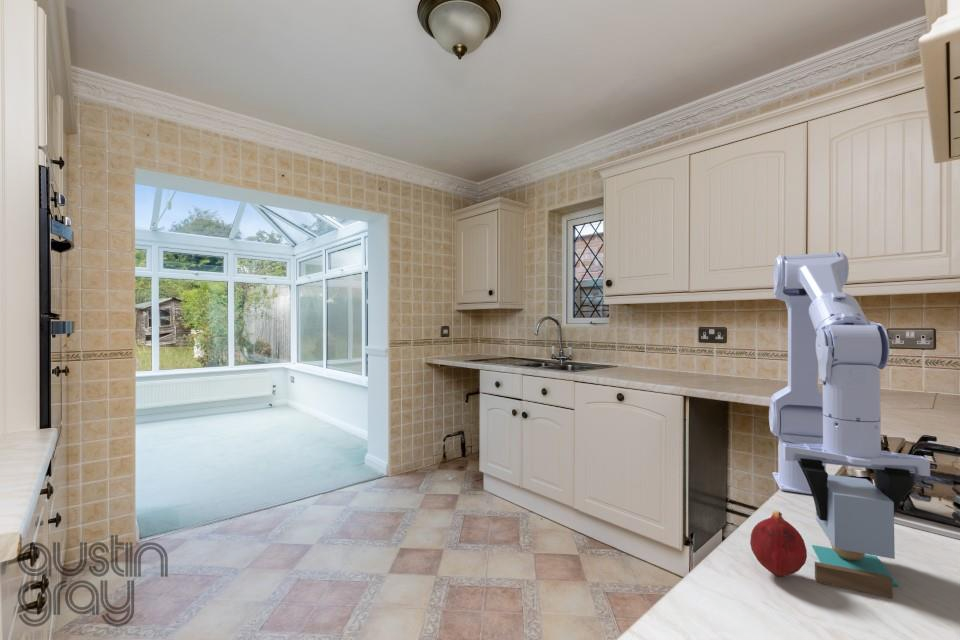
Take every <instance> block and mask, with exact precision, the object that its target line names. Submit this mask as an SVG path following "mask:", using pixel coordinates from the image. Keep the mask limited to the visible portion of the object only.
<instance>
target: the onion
mask: <svg viewBox="0 0 960 640" xmlns="http://www.w3.org/2000/svg"><path fill="white" fill-rule="evenodd" d="M782 515H783V514H782V512H780V511H779V510H777V509H776V510H774V511H772V513H771V516H770V517H768V518H765V519H763V520H761V521H759V522H758V523H757V524H755V525H754V527H753V529H752V531H751V533H750V541H749V543H750V548H751V551H752V553H753V555H754V557H755V558H756V560H757V561H758V563H760V565H761V566H762V567H763V568H764V569H766V570H767V571H768V572H770V573H771V574H772V575H773V576H775V577H777V578H783V577H785V576H790V575H794V574H796V573H798V572H799V571H800V570H801V569H802V567H803V566H804V565H805V564H806V561H807V558H808V555H807V554H808V553H807V552H808V551H807V546H806V544H805V543H806V542H805V541H804V539H803V537H802V535H801V534H800V533H799V531H798V530H797V529H796V527H794V526H793V525H792V524H791V523H790V522H788V521H787V520H785V518H783V516H782Z"/></svg>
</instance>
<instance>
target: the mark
mask: <svg viewBox="0 0 960 640" xmlns="http://www.w3.org/2000/svg"><path fill="white" fill-rule="evenodd" d="M811 547H812V549H813V551H814V553H815V554H816V557H817V558H818V561H819V562H820V563H825V564H830V565H835V566H840V567H846V568H851V569H856V570H861V571H867V572H872V573H877V574H882V575H887V576H890V578H891V579H892V580H893V587H897V588H900V584H899V583H898V582H897V581H896V580H895V578H894V576H892V574H891V573H890V571H889V570H888V569H887V568H886V567H885V565H884V564H883V562H881V560H880V559H879V556H875V555H869V554H865V555H864V556H863V557H862V558H861V559H859V560H847V559H844V558H842V557H841V556H839V555H838V554H837V553H836V552H835V551H834V550H833V548H832V547H827V546H821V545H816V544H815V545H814V544H811Z"/></svg>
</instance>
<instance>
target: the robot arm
mask: <svg viewBox="0 0 960 640" xmlns="http://www.w3.org/2000/svg"><path fill="white" fill-rule="evenodd" d="M773 262H774V263H773V294H774V299H775V300H778V301H782V302H785V306H786V309H787V310H786V311H787V386H785V387H783V388H781V389H779V390H777V391H776V392H775V393H773V394H772V395H771V397H770V400H769V401H770V403H769V409H768V422H769V428H770V433H771V434H772V435H773V436H776V437H777V438H778V445H777V452H778V453H777V462H778V463H777V468H778V470H777V471H778V472H776V471H773V472H772V474H771V475H772V476H773V478H774V479H775V482H776V484H777V485H778V488H779V489H780V490H781V488H782V487H783V486H784V485H785V484H786V483H787V485H786V486H784V487H783V488H782V490H781V491H785V492H790V493H791V492H792V493H800V494H806V495H807V494H808V495H812V498H813V502H814V506H815V511H816V512H815V514H816V513H817V516H818V517H819V519H820V520H824V521H827V503H826V490H827V480H828V475H829V474H828V472H827V464H829V465H838V466H846V467H854V468H855V467H856V468H864V469H873V474H874V475H873V476H874V479H875V480H874V482H875V487H876V488H878V489H879V490H880V491H881V492H882V493H883V494H885V495H886V496H887V497H888V498H889V499H890V500H892V501H893V502H894V515H895V514H896V512H897V511H898V508H899V505H901V502H903V500H904V498H905V497H906V496H907V494H909V492H910V491H911V490H912V489H913V487H914V485H915V478H914V477H912V476H911V474H916V475H918V476H922V477H931V460H929V459H927V457H924V456H922V455H916V454H915V455H914V454H906V453H899V452H893V451H887V450H882V444H881V443H882V441H881V439H882V437H881V435H882V433H881V432H882V430H881V429H882V428H881V427H882V426H881V425H882V423H881V419H882V418H881V413H882V411H881V370H884V369H885V368H886V367H887V365H888V362H889V357H890V339H889V335H888V333H887V330H886V328H885V326H884V324H882V323H877V322H875V321H870V320H868V318H867V317H866V315H865V314H864V312H863V309H862V308H861V306H860V304H859V302H858V300H857V299H856V298H855V297H854V296H853V295H851V294H849V293H847V292H843V287H844V286H845V285H846V284H847V282H848V278H849V272H850V271H849V269H850V268H849V259H848V257H847V255H846V254H845V253H844V252H843V251H840V250H839V251H836V252H824V253H822V252H821V253H806V254H805V253H804V254H789V255H788V254H787V255H784V254H779V255H778V256H777V257H776V258H775V259H774V261H773ZM819 379H820V380H822V391H821V390H819V388H818V387H819Z"/></svg>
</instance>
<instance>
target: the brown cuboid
mask: <svg viewBox="0 0 960 640" xmlns="http://www.w3.org/2000/svg"><path fill="white" fill-rule="evenodd" d="M814 579H815V581H816V583H819V584H824V585H828V586H834V587H837V588H838V587H839V588H843V589H848V590H853V591H858V592H863V593H867V594H872V595H876V596H882V597H886V598H891V599H892V598H894V597H893V595H894V594H893V591H894V590H893V587H894V586H893V580H892V579H891V578H890V576H887V575H882V574H877V573H872V572H867V571H861V570H856V569H851V568H846V567H840V566H835V565H830V564H825V563H820V561H819V562H818V561H814Z"/></svg>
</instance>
